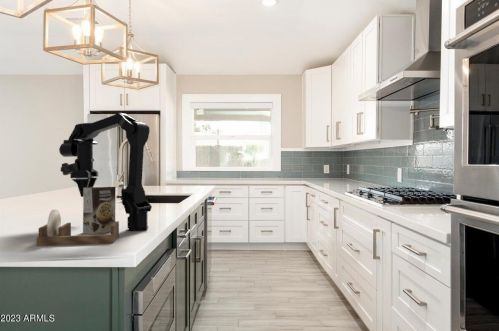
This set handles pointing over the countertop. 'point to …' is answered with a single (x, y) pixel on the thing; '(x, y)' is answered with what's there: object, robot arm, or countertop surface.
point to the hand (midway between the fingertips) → (85, 195)
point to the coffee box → (98, 209)
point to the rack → (62, 234)
